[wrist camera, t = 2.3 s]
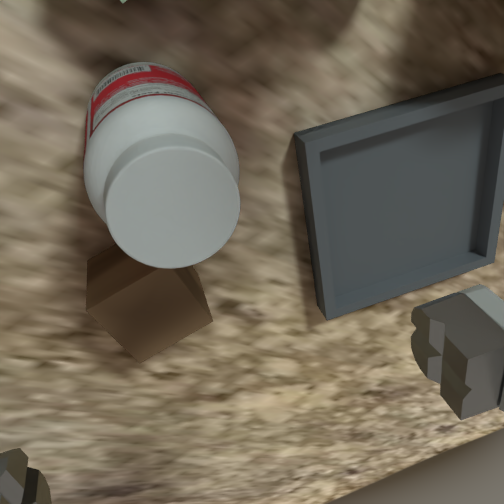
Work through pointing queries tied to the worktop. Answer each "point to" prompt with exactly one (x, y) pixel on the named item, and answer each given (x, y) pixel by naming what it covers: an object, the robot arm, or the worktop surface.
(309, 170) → the tray
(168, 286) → the walnut cube
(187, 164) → the pill bottle
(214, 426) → the worktop surface
